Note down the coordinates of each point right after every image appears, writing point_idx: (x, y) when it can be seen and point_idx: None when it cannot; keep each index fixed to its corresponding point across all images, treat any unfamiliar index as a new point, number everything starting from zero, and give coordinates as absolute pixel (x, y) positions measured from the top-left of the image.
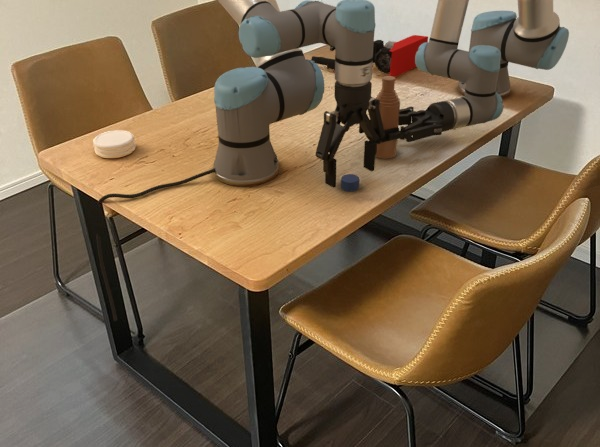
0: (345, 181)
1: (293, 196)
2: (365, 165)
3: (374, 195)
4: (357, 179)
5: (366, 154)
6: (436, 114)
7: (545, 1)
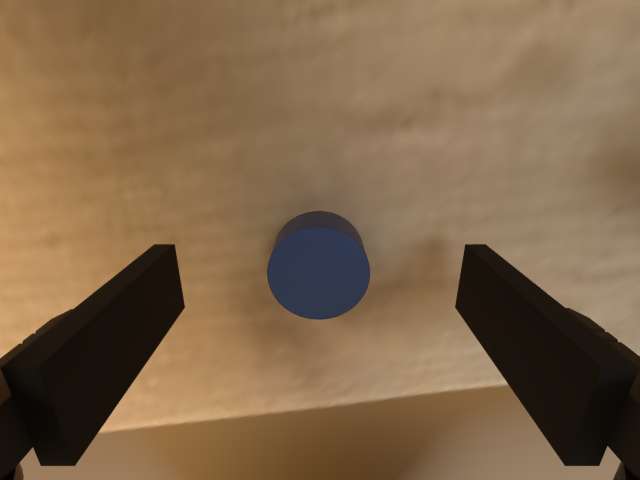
0: (274, 284)
1: (19, 140)
2: (471, 266)
3: (349, 362)
4: (339, 306)
5: (512, 313)
6: None
7: None
